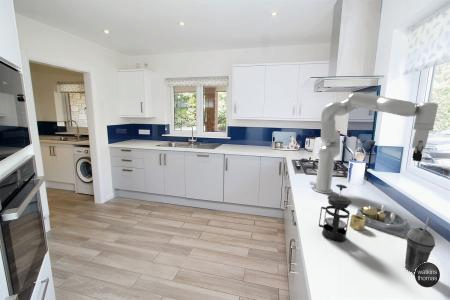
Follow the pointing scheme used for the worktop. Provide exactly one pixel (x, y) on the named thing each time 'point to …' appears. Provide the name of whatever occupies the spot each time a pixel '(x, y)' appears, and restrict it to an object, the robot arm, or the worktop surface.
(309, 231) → the worktop surface
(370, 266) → the worktop surface
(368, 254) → the worktop surface
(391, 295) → the worktop surface
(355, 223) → the gear
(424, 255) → the beverage cup
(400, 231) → the carrier
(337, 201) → the french press
